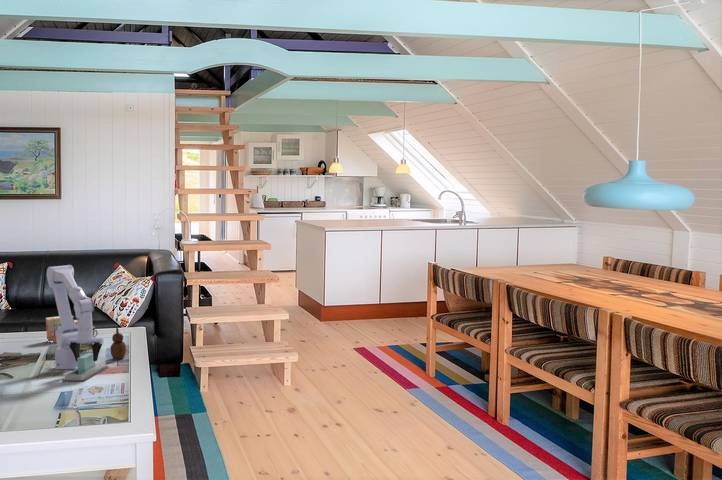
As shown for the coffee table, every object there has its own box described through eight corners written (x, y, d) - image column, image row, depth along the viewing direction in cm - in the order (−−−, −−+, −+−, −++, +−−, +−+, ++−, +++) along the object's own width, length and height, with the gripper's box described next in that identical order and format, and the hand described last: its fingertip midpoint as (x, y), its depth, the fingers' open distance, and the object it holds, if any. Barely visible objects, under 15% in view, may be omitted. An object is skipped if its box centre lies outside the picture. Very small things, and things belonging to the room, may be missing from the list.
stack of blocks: (91, 336, 377) (90, 312, 376) (93, 338, 371) (92, 314, 370) (46, 341, 366) (45, 317, 365) (48, 343, 360) (47, 319, 359)
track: (62, 381, 289) (62, 375, 288) (88, 367, 310) (87, 361, 310) (84, 381, 288) (83, 375, 287) (108, 367, 310) (108, 361, 309)
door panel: (78, 375, 295) (77, 358, 295) (88, 369, 304) (87, 353, 304) (85, 375, 295) (84, 358, 295) (95, 369, 304) (94, 353, 303)
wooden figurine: (120, 360, 322) (119, 327, 321) (108, 360, 323) (107, 326, 322) (128, 356, 328) (127, 324, 327) (116, 356, 330) (115, 323, 328)
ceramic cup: (69, 350, 345) (67, 329, 344) (84, 345, 354) (83, 325, 353) (90, 351, 340) (89, 330, 339) (105, 347, 349) (104, 326, 348)
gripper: (63, 330, 295) (65, 362, 296) (97, 330, 294) (99, 363, 295) (71, 326, 302) (73, 358, 303) (105, 326, 301) (106, 358, 302)
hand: (86, 360), depth 300 cm, fingers open, 7 cm apart
